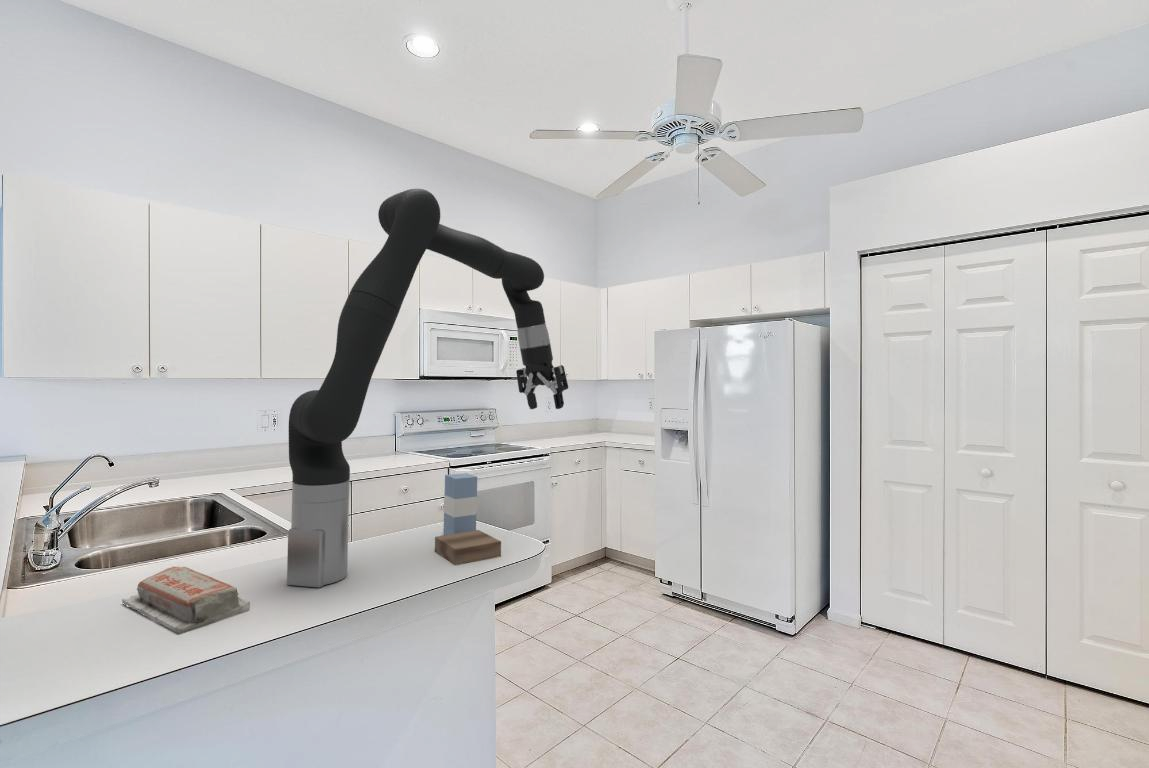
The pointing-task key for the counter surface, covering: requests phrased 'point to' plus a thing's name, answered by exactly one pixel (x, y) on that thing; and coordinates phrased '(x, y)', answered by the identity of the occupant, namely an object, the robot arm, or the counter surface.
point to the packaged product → (186, 599)
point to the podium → (467, 546)
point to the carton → (460, 503)
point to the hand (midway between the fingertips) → (546, 408)
